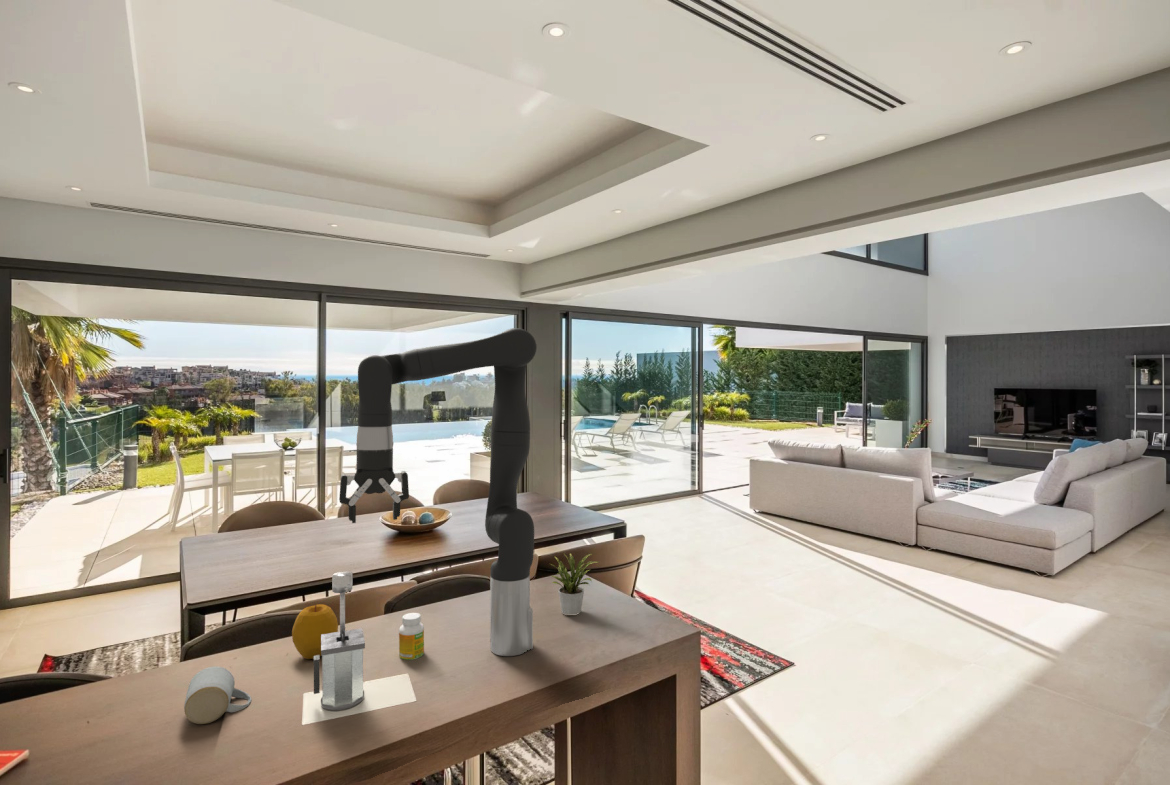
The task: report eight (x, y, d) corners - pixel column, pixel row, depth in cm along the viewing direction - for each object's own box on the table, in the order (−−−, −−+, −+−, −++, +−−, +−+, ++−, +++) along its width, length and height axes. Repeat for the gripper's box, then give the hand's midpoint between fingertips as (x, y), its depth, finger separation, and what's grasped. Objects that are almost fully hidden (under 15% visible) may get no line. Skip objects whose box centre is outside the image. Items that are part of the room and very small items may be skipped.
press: (362, 686, 120) (362, 627, 120) (365, 705, 113) (365, 643, 113) (314, 696, 116) (313, 635, 116) (313, 716, 109) (313, 651, 109)
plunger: (356, 640, 118) (356, 568, 118) (358, 651, 114) (358, 576, 113) (327, 644, 116) (326, 572, 116) (327, 656, 111) (327, 580, 111)
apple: (319, 668, 130) (319, 615, 130) (281, 663, 132) (281, 611, 132) (346, 649, 139) (346, 599, 139) (310, 645, 142) (310, 596, 141)
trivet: (407, 678, 126) (407, 673, 126) (416, 706, 115) (416, 700, 115) (303, 698, 118) (303, 693, 118) (302, 730, 107) (302, 725, 107)
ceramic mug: (182, 731, 106) (182, 689, 106) (188, 709, 113) (188, 669, 113) (250, 717, 111) (250, 676, 111) (251, 697, 118) (252, 658, 118)
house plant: (606, 605, 168) (606, 547, 167) (596, 624, 154) (596, 561, 154) (557, 601, 171) (557, 544, 171) (543, 619, 157) (543, 558, 157)
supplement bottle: (416, 665, 132) (416, 621, 132) (394, 662, 133) (394, 619, 133) (428, 654, 137) (427, 612, 137) (406, 652, 138) (406, 610, 138)
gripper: (406, 444, 136) (405, 514, 137) (339, 446, 131) (338, 520, 131) (410, 447, 130) (410, 521, 130) (340, 449, 124) (339, 527, 124)
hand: (374, 520), depth 130 cm, fingers open, 8 cm apart
